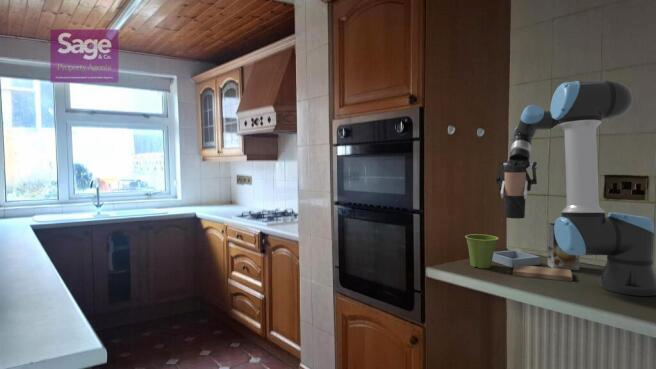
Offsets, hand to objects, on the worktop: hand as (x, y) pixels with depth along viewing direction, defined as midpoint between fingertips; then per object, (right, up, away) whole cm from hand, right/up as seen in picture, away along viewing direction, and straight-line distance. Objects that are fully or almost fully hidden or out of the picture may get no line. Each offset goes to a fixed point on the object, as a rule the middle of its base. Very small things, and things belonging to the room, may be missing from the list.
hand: (513, 196), depth 164 cm
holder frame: (+2, -26, +4) cm, 26 cm away
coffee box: (+17, -27, -4) cm, 32 cm away
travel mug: (+2, -9, +3) cm, 9 cm away
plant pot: (-13, -27, -2) cm, 30 cm away
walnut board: (+4, -27, -14) cm, 31 cm away
